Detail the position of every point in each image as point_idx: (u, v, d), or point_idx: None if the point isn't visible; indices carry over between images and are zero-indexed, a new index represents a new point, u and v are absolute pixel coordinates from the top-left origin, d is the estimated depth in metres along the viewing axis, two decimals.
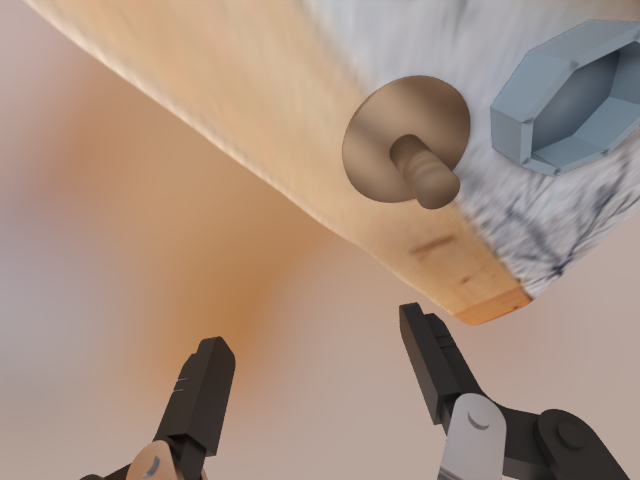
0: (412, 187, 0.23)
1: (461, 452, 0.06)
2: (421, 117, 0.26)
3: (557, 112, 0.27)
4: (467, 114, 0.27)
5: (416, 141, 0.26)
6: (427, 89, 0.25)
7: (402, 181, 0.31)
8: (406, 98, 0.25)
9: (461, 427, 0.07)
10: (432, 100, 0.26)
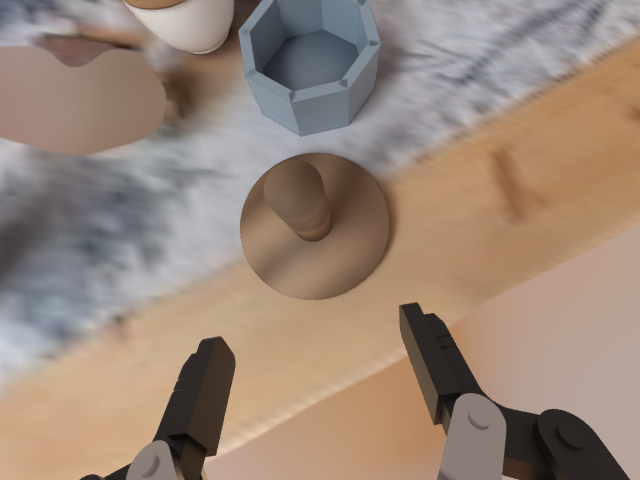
0: (293, 223, 0.16)
1: (461, 452, 0.06)
2: None
3: (323, 70, 0.26)
4: (294, 158, 0.25)
5: None
6: (255, 199, 0.25)
7: (355, 228, 0.23)
8: (256, 219, 0.24)
9: (461, 427, 0.07)
10: None
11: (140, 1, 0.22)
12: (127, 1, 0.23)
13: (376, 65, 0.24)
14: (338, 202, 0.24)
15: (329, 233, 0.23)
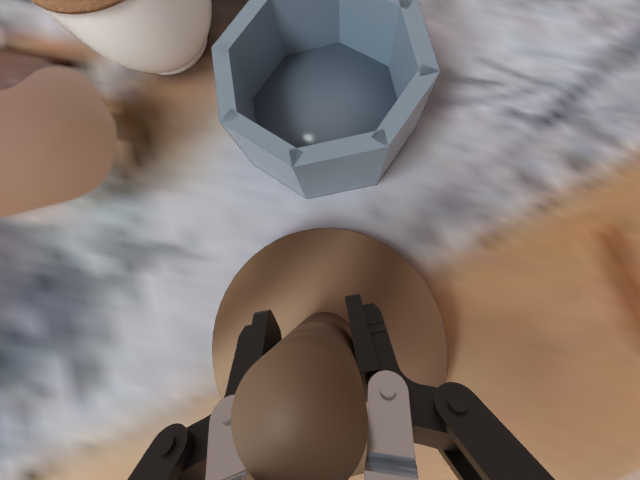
0: None
1: (380, 427, 0.07)
2: (274, 311, 0.16)
3: (340, 102, 0.18)
4: (294, 235, 0.17)
5: None
6: (236, 301, 0.16)
7: None
8: (238, 334, 0.16)
9: (371, 398, 0.08)
10: (255, 293, 0.16)
11: (50, 1, 0.14)
12: (33, 1, 0.14)
13: (425, 101, 0.15)
14: None
15: None
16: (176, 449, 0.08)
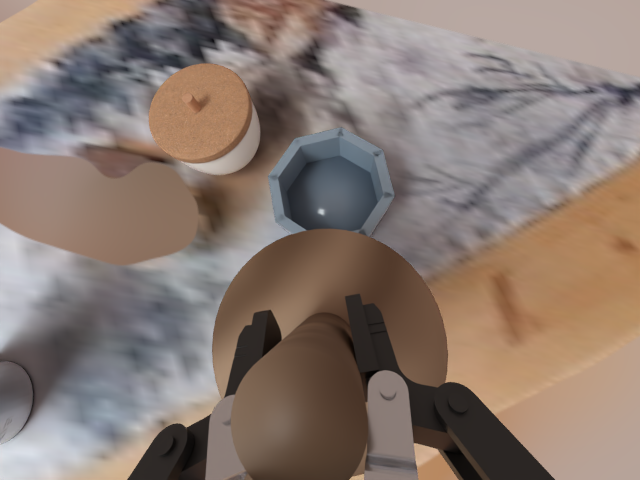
0: None
1: (380, 427, 0.07)
2: (274, 311, 0.16)
3: (341, 195, 0.30)
4: (294, 236, 0.17)
5: None
6: (236, 301, 0.16)
7: None
8: (238, 335, 0.16)
9: (371, 398, 0.08)
10: (255, 294, 0.16)
11: (184, 159, 0.25)
12: None
13: (389, 204, 0.27)
14: None
15: None
16: (176, 449, 0.08)
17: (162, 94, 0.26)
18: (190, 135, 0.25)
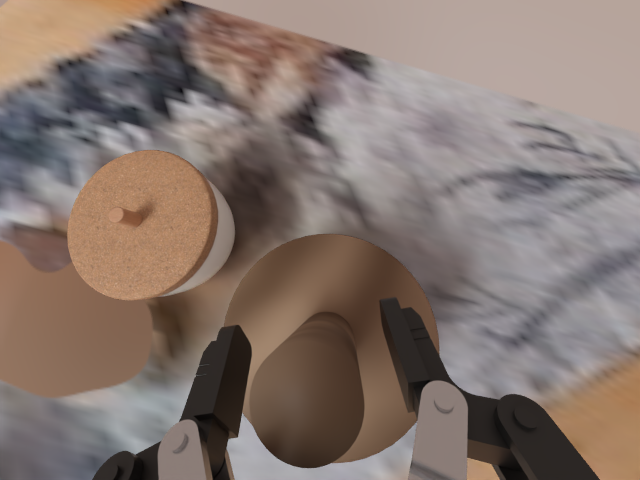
0: None
1: (430, 438, 0.07)
2: (279, 311, 0.17)
3: None
4: (298, 240, 0.18)
5: None
6: (244, 301, 0.17)
7: (388, 350, 0.16)
8: (246, 332, 0.17)
9: (426, 411, 0.07)
10: (262, 294, 0.17)
11: (114, 297, 0.17)
12: None
13: None
14: (363, 309, 0.17)
15: None
16: (120, 479, 0.07)
17: (88, 195, 0.18)
18: (124, 263, 0.17)
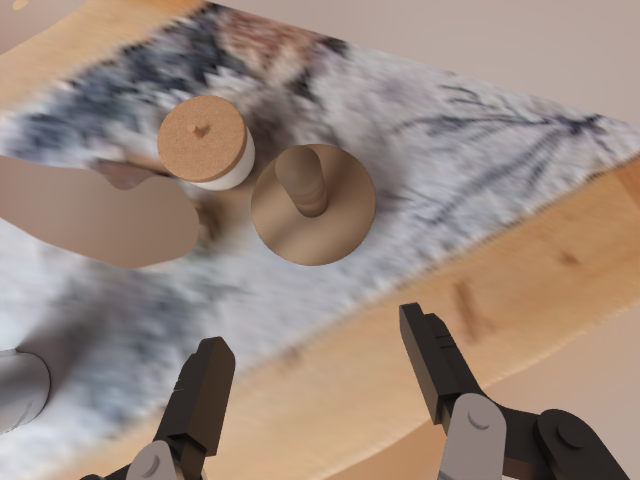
0: (297, 195, 0.21)
1: (461, 452, 0.06)
2: None
3: None
4: None
5: None
6: (264, 183, 0.30)
7: (347, 205, 0.28)
8: (265, 200, 0.29)
9: (461, 427, 0.07)
10: (274, 179, 0.29)
11: (187, 179, 0.29)
12: (177, 176, 0.30)
13: None
14: (333, 184, 0.29)
15: (326, 210, 0.28)
16: None
17: (169, 121, 0.30)
18: (193, 159, 0.29)
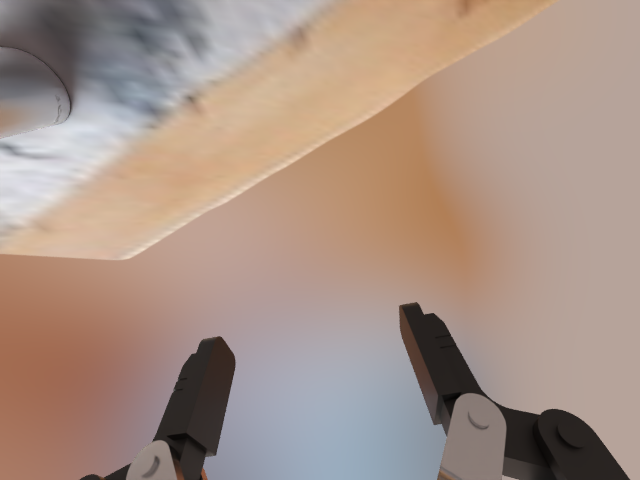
0: None
1: (461, 452, 0.06)
2: None
3: None
4: None
5: None
6: None
7: None
8: None
9: (461, 427, 0.07)
10: None
11: None
12: None
13: None
14: None
15: None
16: None
17: None
18: None
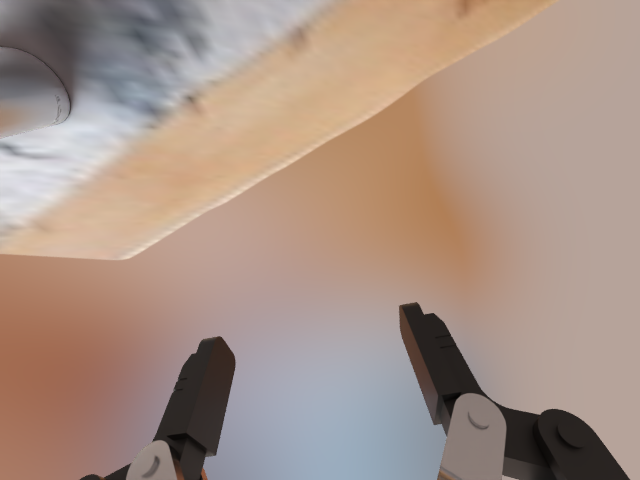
0: None
1: (461, 452, 0.06)
2: None
3: None
4: None
5: None
6: None
7: None
8: None
9: (461, 427, 0.07)
10: None
11: None
12: None
13: None
14: None
15: None
16: None
17: None
18: None
